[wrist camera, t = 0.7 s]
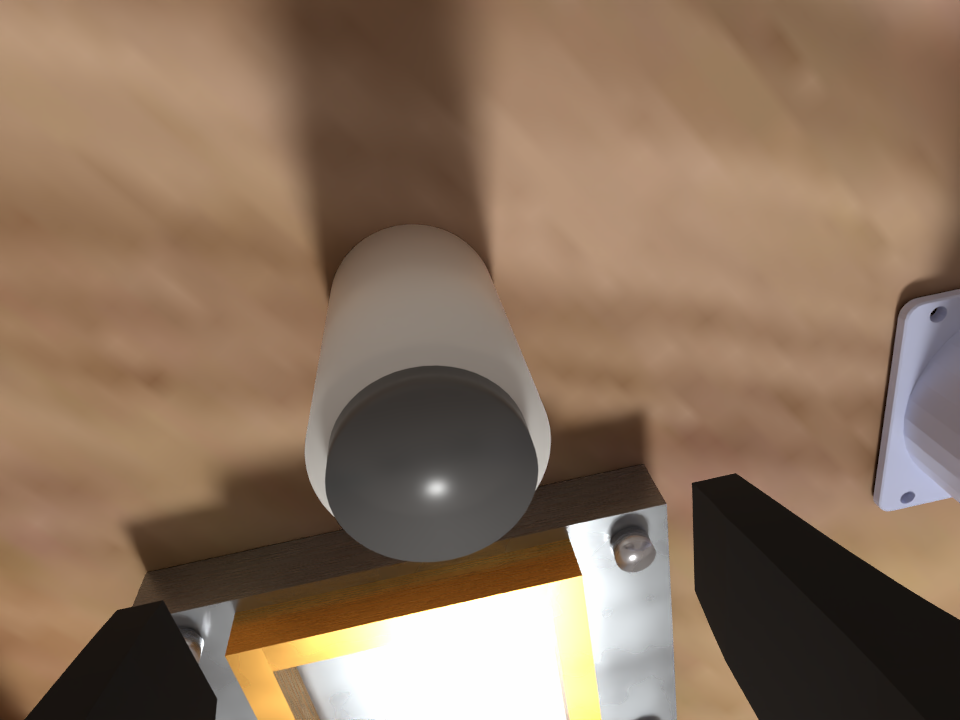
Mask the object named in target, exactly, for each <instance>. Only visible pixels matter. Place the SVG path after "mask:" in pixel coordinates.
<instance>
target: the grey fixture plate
mask: <svg viewBox="0 0 960 720" xmlns="http://www.w3.org/2000/svg"><path fill="white" fill-rule="evenodd" d="M161 600H163V601H164V603H165V604H166V606H167V608H168V610H169V612H170V613H171V615H172V617H173V619H174V621H175V623H176V624H177V626H178V628H179V630H180V632H181V633H182V635H183V637H184V639H185V641H186V643H187V644H188V646H189V648H190V650H191V652H192V654H193V655H194V657H195V659H196V661H197V663H198V664H199V666H200V668H201V670H202V672H203V674H204V675H205V677H206V679H207V681H208V683H209V684H210V686H211V688H212V690H213V692H214V694H215V695H216V697H217V708H216V719H215V720H677V713H676V692H675V671H674V650H673V629H672V608H671V587H670V566H669V545H668V524H667V504H666V502H665V500H664V499H663V497H662V495H661V494H660V492H659V490H658V488H657V487H656V485H655V483H654V481H653V480H652V478H651V476H650V474H649V473H648V471H647V469H646V467H645V466H644V464H641V465H637V466H632V467H627V468H623V469H618V470H614V471H609V472H605V473H600V474H595V475H591V476H586V477H582V478H577V479H573V480H568V481H564V482H559V483H554V484H550V485H545V486H541V487H537V489H536V491H535V493H534V496H533V498H532V501H531V503H530V505H529V506H528V508H527V510H526V512H525V513H524V515H523V516H522V517H521V519H520V520H519V521H518V522H517V523H516V524H515V526H514V527H513V528H512V529H511V530H510V531H508V532H507V533H506V534H505V535H504V536H502V537H501V538H500V539H498V540H497V541H495V542H494V543H492V544H491V545H489V546H487V547H485V548H483V549H481V550H479V551H477V552H474V553H472V554H469V555H467V556H463V557H459V558H456V559H452V560H446V561H439V562H411V561H403V560H398V559H394V558H390V557H387V556H384V555H381V554H379V553H376V552H374V551H372V550H370V549H368V548H366V547H365V546H363V545H362V544H360V543H359V542H357V541H356V540H355V539H353V538H352V537H351V536H350V535H349V534H348V533H347V532H346V531H345V530H340V531H335V532H331V533H326V534H322V535H317V536H312V537H308V538H303V539H299V540H294V541H290V542H285V543H280V544H276V545H271V546H267V547H262V548H258V549H253V550H249V551H244V552H239V553H235V554H230V555H226V556H221V557H217V558H212V559H207V560H203V561H198V562H194V563H189V564H185V565H180V566H176V567H171V568H166V569H162V570H157V571H153V572H148V573H146V575H145V577H144V579H143V582H142V584H141V587H140V589H139V592H138V594H137V597H136V599H135V601H134V604H133V606H132V607H134V606H139V605H143V604H148V603H152V602H157V601H161Z"/></svg>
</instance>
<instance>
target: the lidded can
mask: <svg viewBox="0 0 960 720" xmlns="http://www.w3.org/2000/svg"><path fill="white" fill-rule="evenodd" d="M550 447H551V434H550V426H549V421H548V417H547V414H546V411H545V409H544V406H543V404H542V401H541V399H540V396H539V394H538V391H537V389H536V387H535V384H534V382H533V379H532V377H531V374H530V372H529V369H528V367H527V365H526V362H525V360H524V357H523V355H522V352H521V350H520V347H519V345H518V343H517V340H516V338H515V335H514V333H513V330H512V328H511V325H510V323H509V321H508V318H507V316H506V313H505V311H504V308H503V306H502V303H501V301H500V298H499V296H498V294H497V291H496V289H495V286H494V284H493V281H492V279H491V276H490V274H489V272H488V269H487V267H486V265H485V264H484V262H483V260H482V259H481V258H480V256H479V255H478V254H477V252H476V251H475V250H474V249H473V248H472V247H471V246H470V245H469V244H467V243H466V242H465V241H463V240H462V239H461V238H459V237H458V236H456V235H454V234H452V233H450V232H448V231H445V230H443V229H440V228H437V227H433V226H428V225H420V224H405V225H398V226H393V227H389V228H386V229H383V230H380V231H378V232H376V233H373V234H372V235H370V236H368V237H366V238H365V239H363V240H362V241H361V242H359V243H358V244H357V245H356V246H355V247H354V248H353V249H352V250H351V251H350V252H349V253H348V254H347V255H346V257H345V258H344V259H343V261H342V262H341V264H340V266H339V268H338V269H337V271H336V274H335V277H334V279H333V283H332V287H331V292H330V298H329V304H328V310H327V316H326V322H325V328H324V334H323V339H322V345H321V351H320V357H319V363H318V369H317V375H316V381H315V387H314V392H313V398H312V404H311V410H310V416H309V422H308V428H307V434H306V440H305V462H306V469H307V473H308V476H309V480H310V482H311V485H312V487H313V489H314V491H315V493H316V495H317V496H318V498H319V499H320V501H321V503H322V504H323V505H324V506H325V507H326V509H327V510H328V511H329V512H330V513H331V514H332V515H333V516H334V517H335V518H336V520H337V521H338V523H339V524H340V525H341V527H342V528H343V529H344V530H345V531H346V532H347V533H348V534H349V535H350V536H351V537H352V538H353V539H355V540H356V541H357V542H359V543H360V544H362V545H363V546H365V547H366V548H368V549H370V550H372V551H374V552H376V553H379V554H381V555H384V556H387V557H390V558H394V559H398V560H403V561H411V562H439V561H446V560H452V559H456V558H459V557H463V556H467V555H469V554H472V553H474V552H477V551H479V550H481V549H483V548H485V547H487V546H489V545H491V544H492V543H494V542H495V541H497V540H498V539H500V538H501V537H502V536H504V535H505V534H506V533H507V532H508V531H510V530H511V529H512V528H513V527H514V526H515V524H516V523H517V522H518V521H519V520H520V519H521V517H522V516H523V515H524V513H525V512H526V510H527V508H528V506H529V505H530V503H531V501H532V498H533V496H534V493H535V491H536V489H537V487H538V485H539V484H540V482H541V480H542V478H543V475H544V473H545V470H546V468H547V464H548V460H549V456H550Z"/></svg>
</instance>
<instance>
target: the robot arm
mask: <svg viewBox="0 0 960 720" xmlns="http://www.w3.org/2000/svg"><path fill="white" fill-rule="evenodd" d="M937 307H938V308H937ZM935 308H937V310H936V312H935V313H934V314H933V315H932V316H930V315H931V312H932V311H933V310H934V309H935ZM692 497H693V538H694V579H695V592H696V594H697V597H698V599H699V601H700V604H701V606H702V609H703V611H704V613H705V616H706V618H707V620H708V623H709V625H710V627H711V630H712V632H713V634H714V636H715V639H716V641H717V643H718V645H719V648H720V650H721V652H722V654H723V656H724V659H725V661H726V663H727V664H728V666H729V668H730V670H731V672H732V673H733V675H734V677H735V679H736V680H737V682H738V684H739V686H740V687H741V689H742V691H743V693H744V694H745V696H746V698H747V700H748V702H749V703H750V705H751V707H752V709H753V710H754V712H755V714H756V716H757V717H758V719H759V720H960V620H959V619H957V618H956V617H954V616H952V615H950V614H949V613H947V612H945V611H944V610H942V609H940V608H939V607H937V606H935V605H933V604H932V603H930V602H928V601H927V600H925V599H923V598H922V597H920V596H918V595H917V594H915V593H914V592H912V591H910V590H909V589H907V588H905V587H904V586H902V585H901V584H899V583H897V582H896V581H894V580H893V579H891V578H890V577H888V576H887V575H885V574H884V573H882V572H880V571H879V570H877V569H876V568H874V567H873V566H871V565H870V564H868V563H867V562H865V561H863V560H862V559H860V558H859V557H857V556H856V555H854V554H853V553H851V552H850V551H848V550H847V549H845V548H844V547H842V546H841V545H839V544H838V543H836V542H835V541H833V540H832V539H830V538H829V537H827V536H826V535H824V534H823V533H821V532H820V531H818V530H817V529H816V528H814V527H813V526H811V525H810V524H808V523H807V522H805V521H804V520H802V519H801V518H799V517H798V516H797V515H795V514H794V513H792V512H791V511H789V510H788V509H787V508H785V507H784V506H782V505H781V504H779V503H778V502H776V501H775V500H774V499H772V498H771V497H769V496H768V495H766V494H765V493H764V492H762V491H761V490H759V489H758V488H756V487H755V486H753V485H752V484H750V483H749V482H748V481H746V480H745V479H743V478H742V477H740V476H739V475H737V474H736V473H735V474H730V475H726V476H721V477H717V478H712V479H708V480H703V481H699V482H694V483H692ZM951 497H953V498H954V499H955V500H956V501H958V502H959V503H960V289H957V290H952V291H948V292H943V293H938V294H934V295H929V296H924V297H920V298H916V299H913V300H910V301H909V302H908V303H906V304H905V305H904V306H903V308H902V309H901V310H900V313H899V316H898V322H897V329H896V337H895V344H894V351H893V359H892V366H891V373H890V380H889V388H888V395H887V402H886V409H885V417H884V424H883V431H882V438H881V446H880V453H879V460H878V467H877V475H876V482H875V489H874V496H873V498H874V502H875V503H876V504H877V505H878V506H879V507H880V508H881V509H882V510H884V511H893V510H897V509H902V508H906V507H911V506H915V505H920V504H924V503H929V502H933V501H937V500H942V499H946V498H951ZM216 708H217V697H216V695H215V694H214V692H213V690H212V688H211V686H210V684H209V683H208V681H207V679H206V677H205V675H204V674H203V672H202V670H201V668H200V666H199V664H198V663H197V661H196V659H195V657H194V655H193V654H192V652H191V650H190V648H189V646H188V644H187V643H186V641H185V639H184V637H183V635H182V633H181V632H180V630H179V628H178V626H177V624H176V623H175V621H174V619H173V617H172V615H171V613H170V612H169V610H168V608H167V606H166V604H165V603H164V601H163V600H161V601H157V602H152V603H148V604H143V605H139V606H134V607H129V608H125V609H120V610H117V611H116V612H115V613H114V614H113V615H112V617H111V618H110V619H109V620H108V621H107V622H106V623H105V624H104V625H103V627H102V628H101V629H100V630H99V631H98V632H97V634H96V635H95V636H94V637H93V638H92V639H91V641H90V642H89V643H88V644H87V645H86V646H85V648H84V649H83V650H82V651H81V652H80V654H79V655H78V656H77V657H76V658H75V660H74V661H73V662H72V663H71V664H70V666H69V667H68V668H67V669H66V670H65V672H64V673H63V674H62V675H61V676H60V678H59V679H58V680H57V681H56V682H55V684H54V685H53V686H52V687H51V688H50V690H49V691H48V692H47V693H46V694H45V696H44V697H43V698H42V699H41V700H40V702H39V703H38V704H37V705H36V706H35V708H34V709H33V710H32V711H31V712H30V714H29V715H28V716H27V717H26V718H25V719H24V720H215V719H216Z"/></svg>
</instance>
